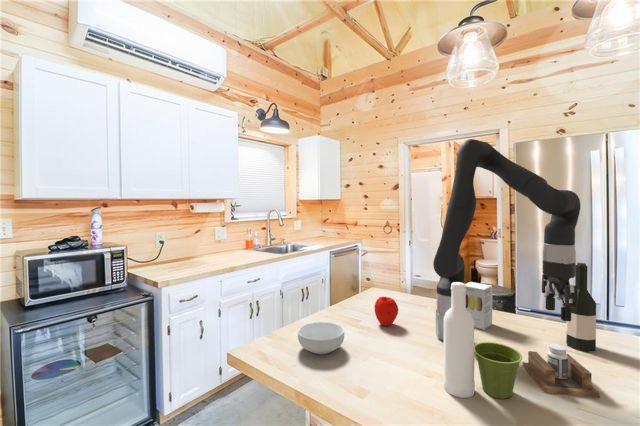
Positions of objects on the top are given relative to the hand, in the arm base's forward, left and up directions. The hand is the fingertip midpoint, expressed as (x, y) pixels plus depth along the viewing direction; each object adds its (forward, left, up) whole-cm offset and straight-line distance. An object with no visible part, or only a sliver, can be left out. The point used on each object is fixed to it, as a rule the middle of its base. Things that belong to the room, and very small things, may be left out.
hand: (557, 315), depth 90 cm
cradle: (0, 0, -19) cm, 19 cm away
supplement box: (-11, +41, -20) cm, 47 cm away
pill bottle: (0, 0, -18) cm, 18 cm away
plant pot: (-19, -9, -20) cm, 29 cm away
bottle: (-29, -10, -20) cm, 36 cm away
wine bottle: (+19, +25, -20) cm, 37 cm away
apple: (-49, +34, -20) cm, 63 cm away
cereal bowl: (-72, +7, -20) cm, 75 cm away
